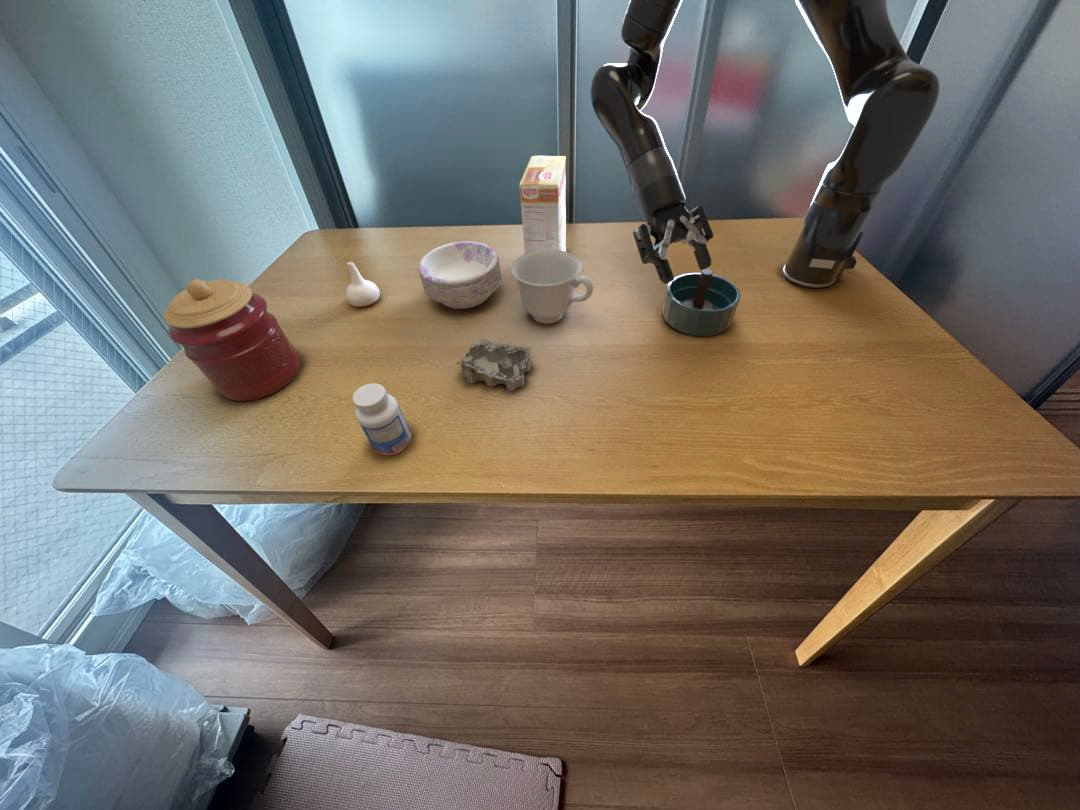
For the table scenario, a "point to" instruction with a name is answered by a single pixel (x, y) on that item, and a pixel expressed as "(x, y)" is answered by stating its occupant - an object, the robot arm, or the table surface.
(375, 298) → the garlic bulb
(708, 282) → the coffee tamper
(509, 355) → the egg carton
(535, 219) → the coffeecake box
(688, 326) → the bowl
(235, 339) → the kitchen canister
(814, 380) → the table surface
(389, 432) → the pill bottle
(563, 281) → the teacup
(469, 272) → the paper bowls
